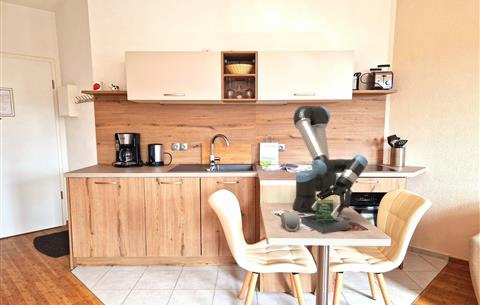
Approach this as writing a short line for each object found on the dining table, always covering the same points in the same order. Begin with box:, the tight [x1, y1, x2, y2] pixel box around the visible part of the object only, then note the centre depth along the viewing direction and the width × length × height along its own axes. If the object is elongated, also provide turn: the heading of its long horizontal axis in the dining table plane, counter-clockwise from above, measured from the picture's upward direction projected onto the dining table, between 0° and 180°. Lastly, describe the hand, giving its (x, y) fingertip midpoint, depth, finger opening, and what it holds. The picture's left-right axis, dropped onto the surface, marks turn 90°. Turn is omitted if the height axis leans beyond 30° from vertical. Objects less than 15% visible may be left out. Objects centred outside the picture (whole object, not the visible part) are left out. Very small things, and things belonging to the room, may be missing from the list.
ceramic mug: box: [280, 210, 301, 233], centre depth 123 cm, size 11×8×8 cm
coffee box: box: [316, 198, 334, 224], centre depth 126 cm, size 8×3×13 cm, turn 67°
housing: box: [300, 214, 350, 235], centre depth 127 cm, size 16×16×3 cm
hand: (322, 212), depth 126 cm, fingers open, 13 cm apart
